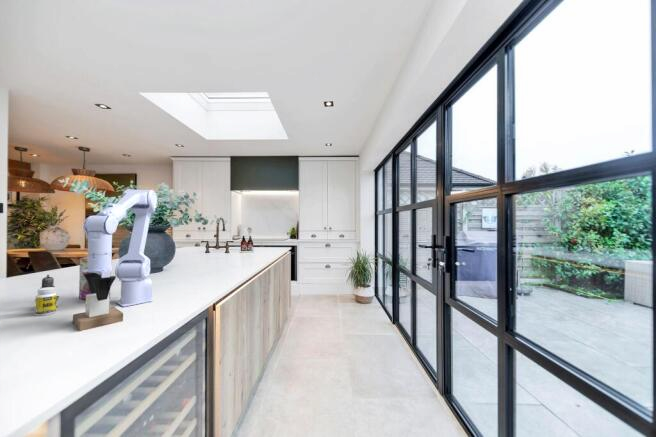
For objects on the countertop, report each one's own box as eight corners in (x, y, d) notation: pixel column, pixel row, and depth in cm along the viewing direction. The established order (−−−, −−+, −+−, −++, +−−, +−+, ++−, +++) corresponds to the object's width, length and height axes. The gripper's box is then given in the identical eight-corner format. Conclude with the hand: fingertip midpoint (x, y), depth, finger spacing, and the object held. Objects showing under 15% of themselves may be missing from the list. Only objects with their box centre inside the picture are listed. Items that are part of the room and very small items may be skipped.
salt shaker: (31, 309, 92) (32, 275, 92) (53, 304, 97) (54, 272, 97) (39, 312, 90) (40, 276, 90) (62, 306, 95) (63, 273, 95)
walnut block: (113, 315, 89) (113, 306, 89) (122, 322, 83) (123, 313, 83) (72, 324, 81) (73, 314, 81) (80, 333, 75) (80, 322, 75)
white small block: (104, 310, 85) (104, 291, 85) (108, 313, 82) (109, 294, 83) (85, 314, 81) (86, 294, 82) (89, 317, 79) (90, 297, 79)
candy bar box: (77, 299, 104) (78, 257, 104) (92, 296, 109) (93, 256, 109) (96, 302, 100) (97, 259, 100) (110, 299, 105) (111, 258, 105)
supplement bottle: (42, 316, 86) (42, 290, 86) (31, 315, 87) (31, 289, 87) (59, 311, 90) (60, 287, 90) (49, 310, 91) (49, 286, 91)
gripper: (77, 252, 84) (76, 295, 84) (88, 257, 75) (87, 305, 75) (105, 251, 89) (104, 291, 89) (119, 255, 80) (118, 299, 80)
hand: (98, 297), depth 82 cm, fingers open, 7 cm apart
